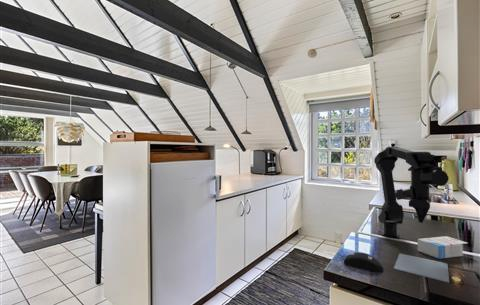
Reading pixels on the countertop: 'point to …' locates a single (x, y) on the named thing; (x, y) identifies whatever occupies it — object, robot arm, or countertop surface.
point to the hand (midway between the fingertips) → (420, 222)
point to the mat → (422, 267)
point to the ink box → (441, 247)
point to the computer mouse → (363, 262)
